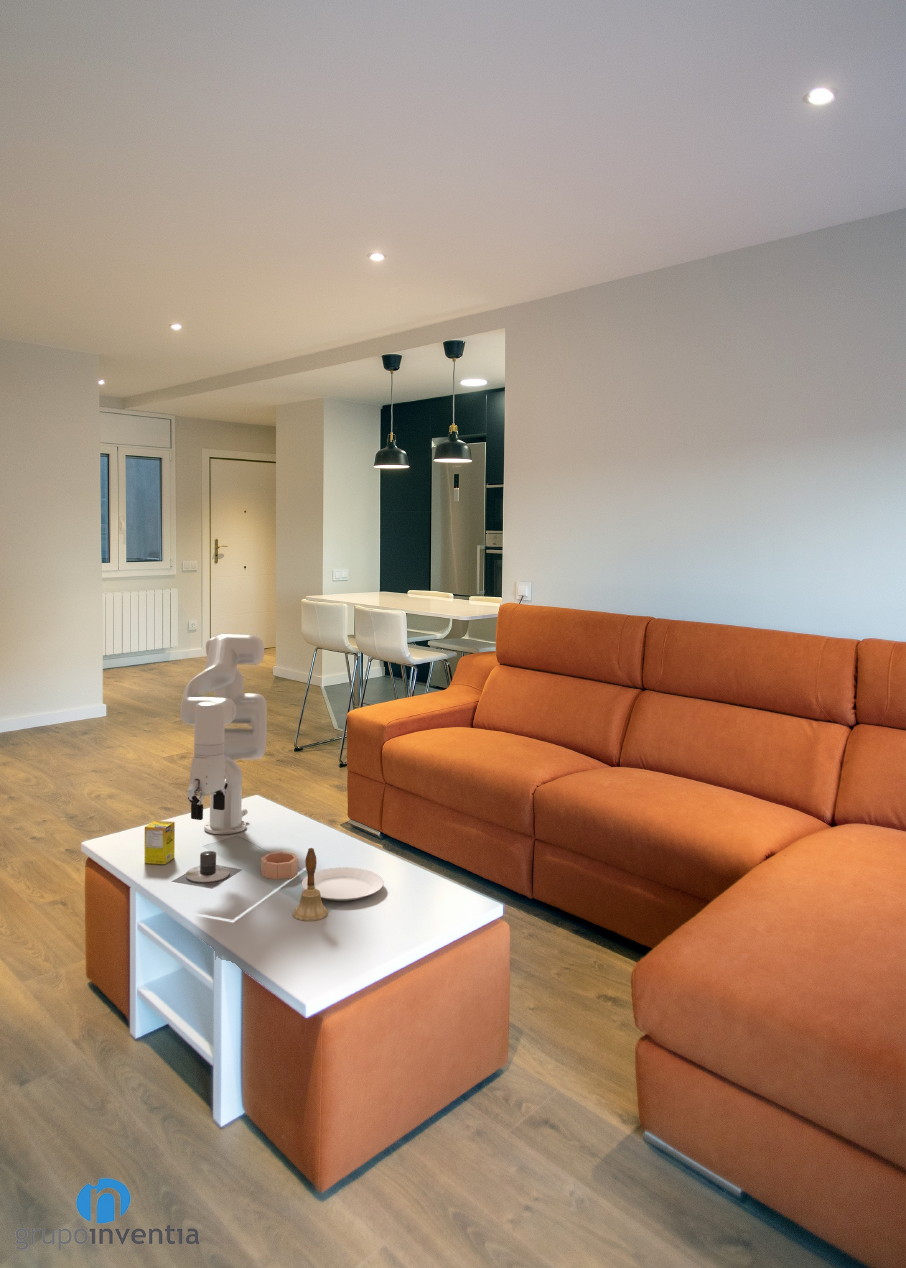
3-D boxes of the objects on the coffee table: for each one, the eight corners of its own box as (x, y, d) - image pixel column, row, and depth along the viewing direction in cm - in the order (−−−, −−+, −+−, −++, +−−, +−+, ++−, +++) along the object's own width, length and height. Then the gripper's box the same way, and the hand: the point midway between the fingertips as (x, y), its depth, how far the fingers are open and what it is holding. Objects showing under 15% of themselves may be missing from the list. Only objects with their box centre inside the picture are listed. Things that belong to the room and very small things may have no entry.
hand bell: (311, 924, 185) (313, 857, 184) (285, 915, 190) (286, 849, 189) (335, 912, 192) (337, 847, 191) (309, 903, 197) (310, 840, 196)
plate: (284, 895, 202) (284, 886, 201) (334, 869, 220) (334, 861, 220) (352, 914, 192) (352, 905, 192) (398, 885, 211) (398, 877, 210)
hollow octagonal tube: (272, 866, 220) (273, 850, 220) (302, 870, 218) (302, 854, 217) (255, 877, 212) (255, 861, 211) (286, 882, 209) (286, 865, 209)
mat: (203, 865, 219) (203, 863, 219) (242, 871, 216) (242, 869, 216) (171, 883, 206) (171, 881, 206) (212, 890, 202) (212, 888, 202)
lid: (202, 865, 218) (202, 844, 217) (237, 871, 214) (238, 849, 214) (177, 879, 207) (177, 857, 207) (214, 885, 204) (214, 863, 203)
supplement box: (174, 859, 222) (175, 821, 222) (165, 867, 217) (165, 828, 216) (154, 858, 223) (154, 819, 222) (143, 865, 217) (144, 826, 216)
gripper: (216, 742, 218) (214, 804, 219) (176, 754, 201) (175, 821, 202) (240, 744, 216) (238, 807, 217) (201, 757, 199) (200, 825, 200)
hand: (208, 814), depth 209 cm, fingers open, 9 cm apart
